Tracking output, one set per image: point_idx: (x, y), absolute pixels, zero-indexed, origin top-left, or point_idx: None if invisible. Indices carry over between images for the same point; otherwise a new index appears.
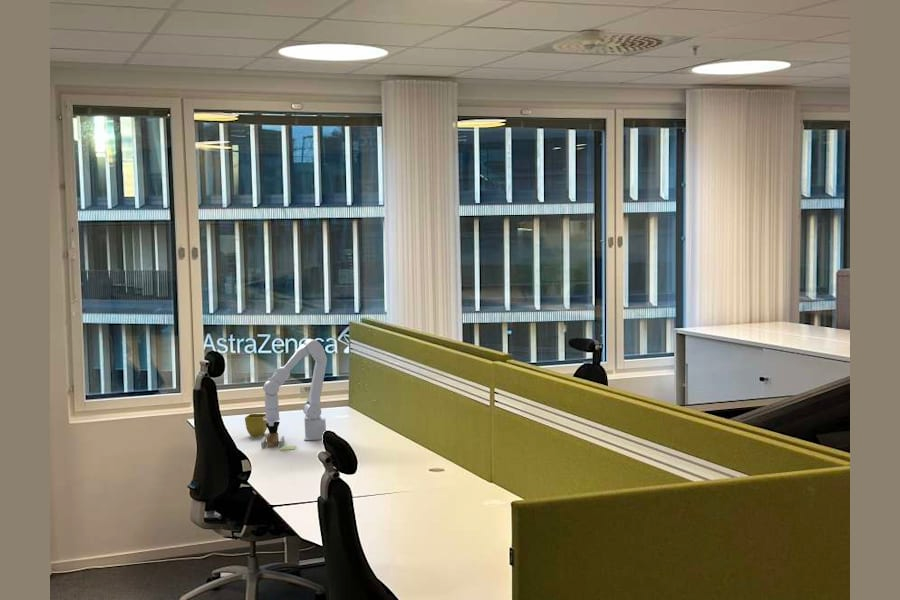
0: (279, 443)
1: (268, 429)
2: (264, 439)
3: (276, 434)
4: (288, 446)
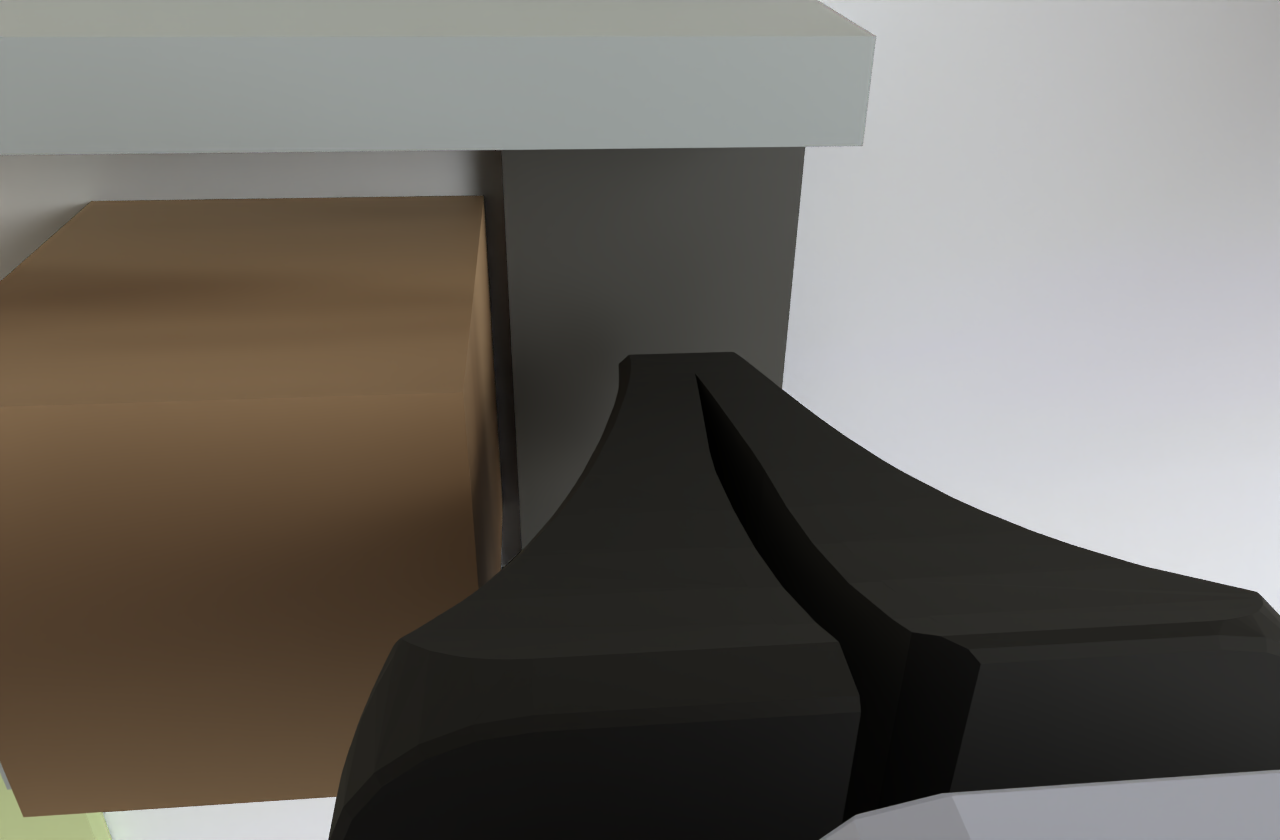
0: (524, 528)
1: (517, 561)
2: (371, 137)
3: (156, 780)
4: (11, 801)
